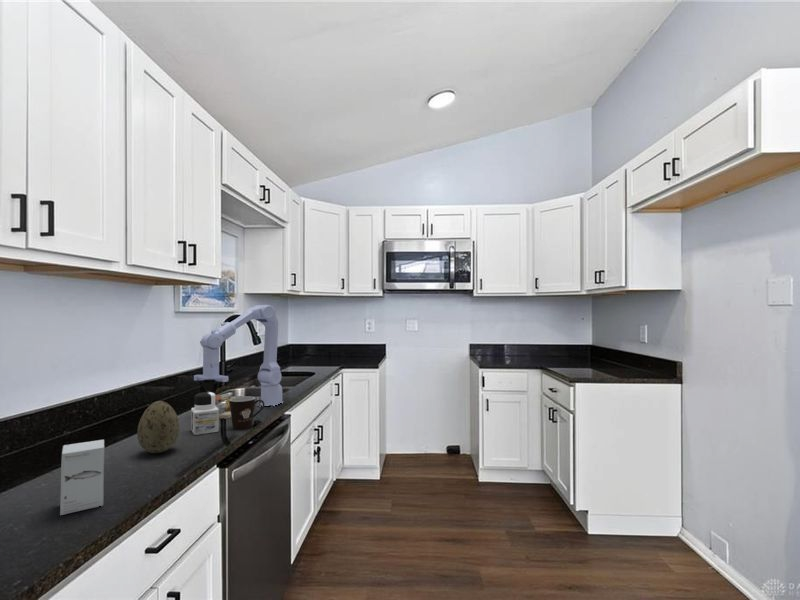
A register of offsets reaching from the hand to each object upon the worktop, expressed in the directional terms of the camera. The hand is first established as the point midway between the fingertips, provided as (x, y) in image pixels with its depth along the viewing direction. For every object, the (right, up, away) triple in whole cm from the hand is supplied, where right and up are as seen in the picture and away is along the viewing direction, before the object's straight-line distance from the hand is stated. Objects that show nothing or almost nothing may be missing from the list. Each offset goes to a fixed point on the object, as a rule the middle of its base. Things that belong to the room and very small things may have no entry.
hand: (210, 399), depth 163 cm
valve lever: (+3, 0, +3) cm, 4 cm away
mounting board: (+3, -7, +7) cm, 11 cm away
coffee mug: (+19, -7, -14) cm, 24 cm away
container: (+6, -7, -18) cm, 20 cm away
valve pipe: (+4, -6, +7) cm, 10 cm away
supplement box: (+5, -5, -73) cm, 74 cm away
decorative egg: (+3, -6, -40) cm, 41 cm away
